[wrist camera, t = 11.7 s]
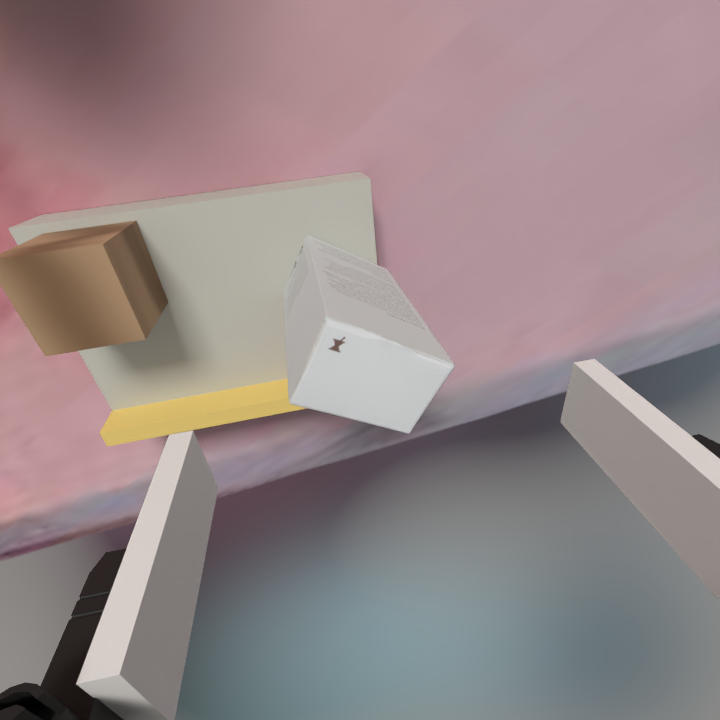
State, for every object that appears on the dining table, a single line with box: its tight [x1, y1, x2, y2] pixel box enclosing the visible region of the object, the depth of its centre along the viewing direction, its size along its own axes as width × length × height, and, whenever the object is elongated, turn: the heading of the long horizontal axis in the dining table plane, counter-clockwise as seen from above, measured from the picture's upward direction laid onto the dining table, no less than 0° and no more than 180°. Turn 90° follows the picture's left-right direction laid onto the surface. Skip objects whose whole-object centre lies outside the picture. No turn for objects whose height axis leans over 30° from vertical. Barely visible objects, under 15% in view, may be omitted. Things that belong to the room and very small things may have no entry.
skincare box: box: [283, 235, 455, 434], centre depth 21 cm, size 6×4×12 cm
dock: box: [8, 172, 377, 446], centre depth 26 cm, size 20×14×6 cm
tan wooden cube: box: [0, 221, 168, 356], centre depth 21 cm, size 5×5×5 cm
